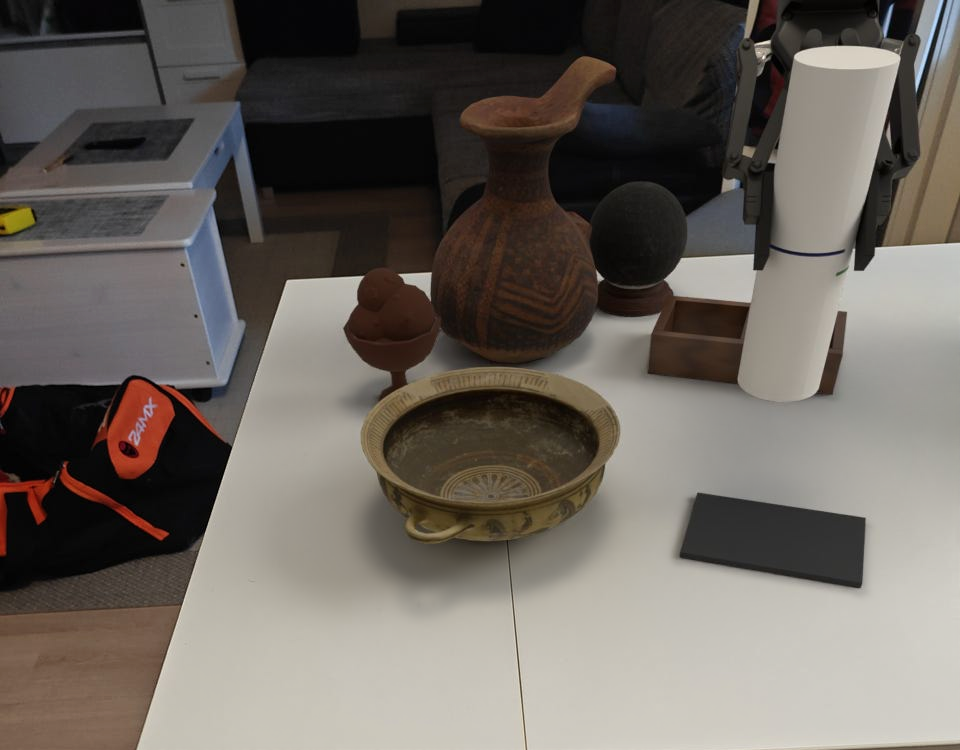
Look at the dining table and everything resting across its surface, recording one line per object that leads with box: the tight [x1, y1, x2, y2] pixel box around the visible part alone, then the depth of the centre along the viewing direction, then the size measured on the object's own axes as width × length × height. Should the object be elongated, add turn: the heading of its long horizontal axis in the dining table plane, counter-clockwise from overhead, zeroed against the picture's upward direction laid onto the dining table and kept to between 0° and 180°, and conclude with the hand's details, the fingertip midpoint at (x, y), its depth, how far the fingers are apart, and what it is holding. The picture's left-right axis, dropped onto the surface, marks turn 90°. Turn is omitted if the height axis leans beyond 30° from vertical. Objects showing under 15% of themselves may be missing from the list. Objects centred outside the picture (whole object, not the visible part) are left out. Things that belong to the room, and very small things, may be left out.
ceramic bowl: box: [360, 366, 621, 545], centre depth 84 cm, size 30×24×10 cm
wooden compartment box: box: [647, 295, 848, 395], centre depth 106 cm, size 22×11×5 cm, turn 71°
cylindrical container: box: [737, 46, 900, 403], centre depth 71 cm, size 7×7×25 cm
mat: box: [679, 492, 867, 588], centre depth 83 cm, size 16×10×1 cm, turn 71°
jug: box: [429, 56, 617, 364], centre depth 105 cm, size 22×22×30 cm
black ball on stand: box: [589, 180, 688, 317], centre depth 117 cm, size 13×13×15 cm
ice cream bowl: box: [342, 267, 441, 403], centre depth 100 cm, size 11×11×15 cm
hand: (812, 262), depth 68 cm, fingers closed on cylindrical container, 7 cm apart
